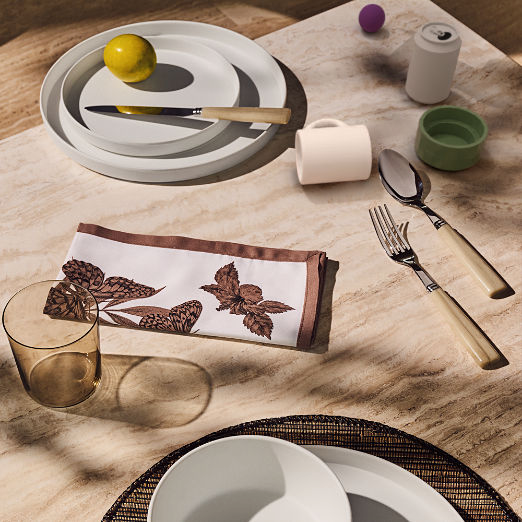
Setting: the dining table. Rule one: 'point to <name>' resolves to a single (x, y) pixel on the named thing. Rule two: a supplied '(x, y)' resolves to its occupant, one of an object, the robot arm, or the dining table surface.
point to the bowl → (450, 137)
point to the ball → (371, 18)
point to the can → (433, 62)
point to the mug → (332, 152)
